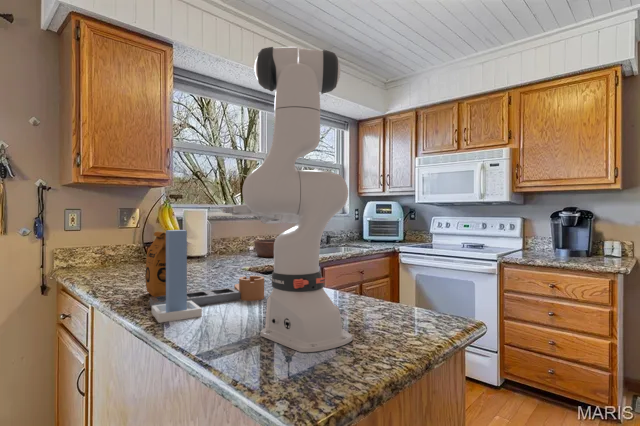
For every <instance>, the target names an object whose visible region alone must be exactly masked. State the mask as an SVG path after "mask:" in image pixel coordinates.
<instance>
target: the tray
mask: <svg viewBox="0 0 640 426" xmlns="http://www.w3.org/2000/svg"><path fill="white" fill-rule="evenodd" d="M202 309H203V308H202V307H200V306H198V305H196V304H195V303H194V302H193V301H187V310H181V311H174V312H167V313H166V304H161V305H153V306H152V308H151V315H152V316H153V317H154V318H155V320H156V321H157V323H158V324H159V323H167V322H172V321H179V320H186V319H187V320H188V319H192V318H197V317H202V316H203V310H202Z"/></svg>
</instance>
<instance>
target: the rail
mask: <svg viewBox="0 0 640 426" xmlns="http://www.w3.org/2000/svg"><path fill="white" fill-rule="evenodd" d="M187 301H193V302H194V303H195V304H196V305H198V306H199V307H200V306H206V305H214V304H221V303H227V302H234V301H242V300H241V292H239V291H237V290H235V289H234V288H233V287H225V288H223V287H222V288H216V289H208V290H207V289H205V290H198V291H190V292H187ZM161 304H166V295H163V296H155V297H153V296H149V306H150V308H151V309H152V306H153V305H161Z"/></svg>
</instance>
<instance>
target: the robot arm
mask: <svg viewBox="0 0 640 426" xmlns="http://www.w3.org/2000/svg"><path fill="white" fill-rule="evenodd" d="M254 72H255V73H254V74H255V78H256V79H257V81H258V84H259V86H261V88H263V89H265V90H267V91H270V92H274V91H275V95H274V96H275V97H274V113H273V115H274V116H273V117H274V120H273V121H274V123H273V124H274V125H273V134H272V141H271V146H270V149H269V152H268V154H267V156H266V157H265V159H264V160H263V162H262V163H261V164H260V165H259V166H258V167H257V168H255V169H254V170H252V171H251V172H249V174H248V175H247V177H245V179H244V182H243V185H242V193H241V194H242V198H243V201H244V203H245V204H236V205H232V206H231V207H230V206H229V207H222V213H223V214H230V215H232V217H256V218H257V220H259V221H261V223H262V224H273V225H274V224H281V223H285V224H295V225H294V226H293V227H290V228H288V229H286V230H284V231H283V232H281V233H279V235H278V236H276V238H275V239H276V240H275V242H274V257H273V270H272V272H271V286H272V288H273V289H272V291H271V294H269V296H268V298H267V299H266V309H265V310H266V313H265V324H264V325H265V327H264V328H263V329H260V334H259V335H260V336H261V337H262V338H266V339H268V340H269V341H272V342H274V343H277V344H280V345H282V346H284V347H287V348H290V349H292V350H295V351H297V352H299V353H313V352H314V353H315V352H321V351H322V352H323V351H327V350H330V349H335V348H338V347H343V346H344V345H347V344H349V343H351V342H352V341H353V339H354V338H353V335H352V334H351V333H350V332H348V331H347V330H345V329H344V328H343V327H342V315H341V312H340V307H339V306H338V305H335V304H334V302H333V300H332V299H331V298H330V297H329V295H328V293H327V292H326V291H325V289H324V283H326V281H324V280H325V279H326V277H323V276H322V273H321V271H320V250H321V241H322V240H321V239H322V236H323V233H324V231H325V228H326V227H327V225H328V224H329V222H330V221H331V219H333V217H334V216H336V215H337V214H338V213H339V212H340V211H341V210H342V209H343V208H344V207H345V206H346V203H347V202H348V197H349V188H348V185H347V182H346V181H345V179H344V177H343V176H342V175H341V174H339V173H334V172H330V171H327V170H320V169H319V170H314V169H313V170H311V169H298V168H297V167H296V164H295V163H296V161H297V160H298V159H299V158H302V157H304V156H307V155H308V154H310V153H312V152H313V151H315V150H316V149H317V148H318V146H319V144H320V141H321V95H323V94H327V93H330V92H332V91H334V90H335V89H336V88H337V85H338V83H339V81H340V78H341V67H340V62H339V59H338V56H337V55H336V53H335V52H333V51H330V50H326V49H323V50H319V49H313V48H305V47H298V46H284V47H283V46H282V47H273V46H268V47H263V48H261V50H260V51H259V52H257V57H256V59H255V62H254Z"/></svg>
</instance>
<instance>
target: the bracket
mask: <svg viewBox="0 0 640 426" xmlns="http://www.w3.org/2000/svg"><path fill="white" fill-rule="evenodd" d="M233 289H235V290H237V291H239V292H241V300H240V301H245V302H255V301H256V302H257V301H261V300H263V299H265V277H264V276H262V275H249V278H247V276H246V275H245V276H241V277H239V279H238V283H236V284H234V288H233Z"/></svg>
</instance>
